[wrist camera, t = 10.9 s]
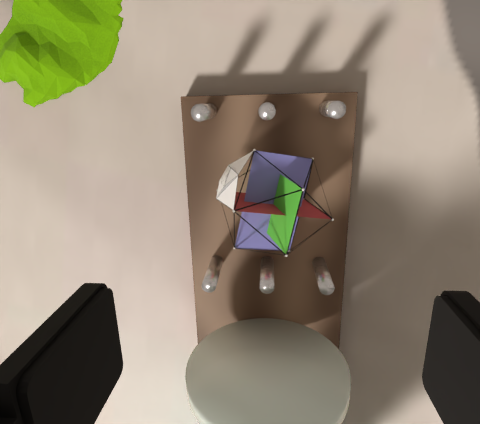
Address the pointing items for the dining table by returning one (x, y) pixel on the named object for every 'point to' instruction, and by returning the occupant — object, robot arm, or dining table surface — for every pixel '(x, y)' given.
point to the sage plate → (267, 375)
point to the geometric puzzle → (269, 200)
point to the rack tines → (267, 264)
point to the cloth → (58, 45)
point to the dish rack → (214, 221)
